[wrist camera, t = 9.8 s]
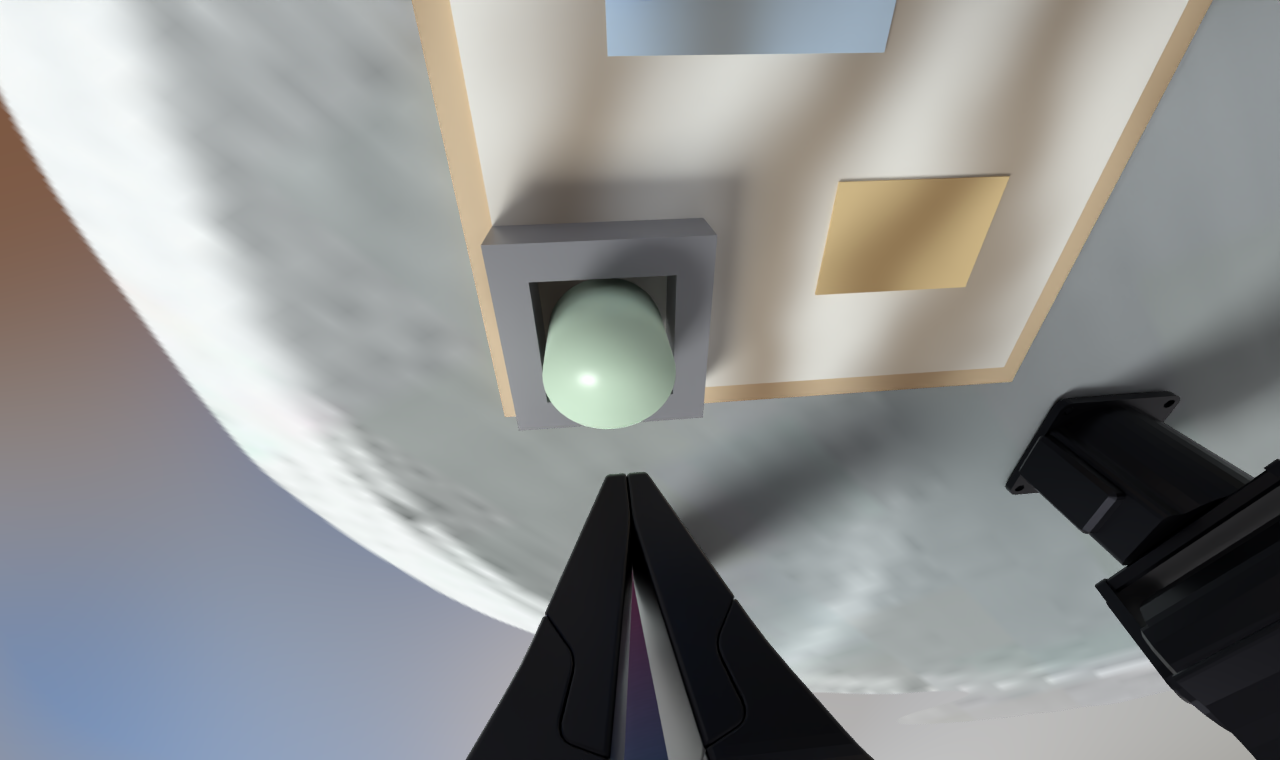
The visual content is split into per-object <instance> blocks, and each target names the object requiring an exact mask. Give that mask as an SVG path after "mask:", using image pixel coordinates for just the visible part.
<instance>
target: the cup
mask: <svg viewBox="0 0 1280 760" xmlns="http://www.w3.org/2000/svg"><path fill="white" fill-rule="evenodd" d="M624 760H668V755H667V750H666V745H665V740H664V735H663V729H662V724H661V719H660V714H659V709H658V704H657V699H656V694H655V689H654V684H653V679H652V674H651V669H650V663H649V658H648V653H647V648H646V643H645V638H644V633H643V628H642V623H641V618H640V613H639V608H638V603H637V597H636V592H635V587H634V581H633V572H632V604H631V625H630V646H629V667H628V688H627V709H626V730H625V751H624Z"/></svg>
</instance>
